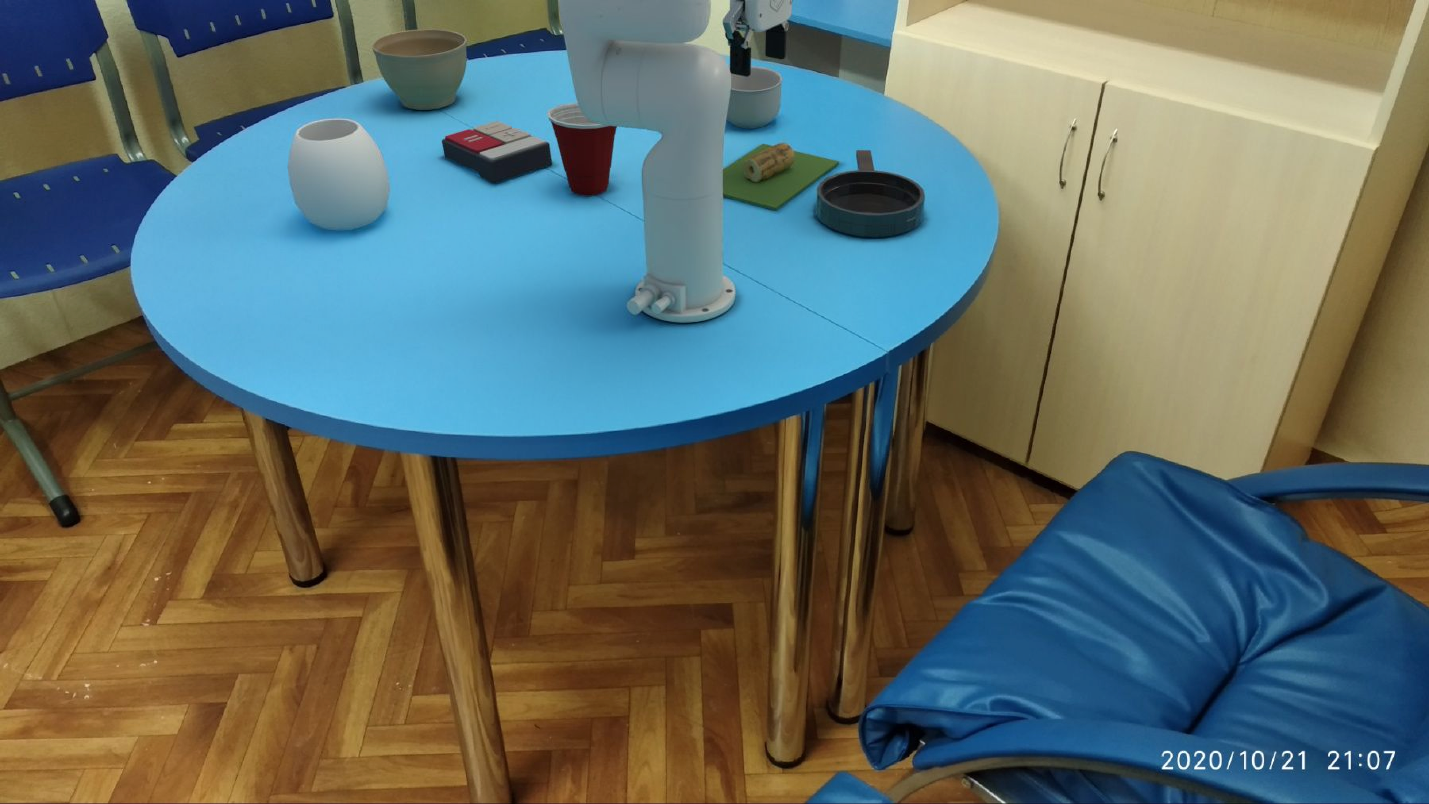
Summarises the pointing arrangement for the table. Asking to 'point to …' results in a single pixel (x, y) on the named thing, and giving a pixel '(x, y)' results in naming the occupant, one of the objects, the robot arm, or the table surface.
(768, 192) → the green mat
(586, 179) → the plastic cup
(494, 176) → the calculator
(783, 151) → the carved stone cylinder
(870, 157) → the pan handle
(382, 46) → the planter bowl
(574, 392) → the table surface
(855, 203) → the pan
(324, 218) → the white vase
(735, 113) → the teacup
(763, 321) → the table surface
